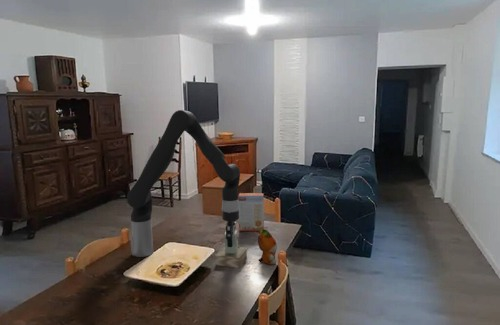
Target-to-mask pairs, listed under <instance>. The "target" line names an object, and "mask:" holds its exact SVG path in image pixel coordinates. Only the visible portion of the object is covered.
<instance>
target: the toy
mask: <svg viewBox="0 0 500 325" xmlns="http://www.w3.org/2000/svg"><path fill="white" fill-rule="evenodd" d="M257 245H258V249H259V250H260V251H262V254H261V257H260V258H259V259H258V262H259V263H263V264H266V265H275V264H277V260H276V252H277V249H278V244H277V241H276V239H275V237H274V236H273V235H272V234H271V233H270V232H269V230H268V229H265V228H264V229H263V230H261V231H259V235H258V237H257Z"/></svg>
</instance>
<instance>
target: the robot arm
mask: <svg viewBox="0 0 500 325" xmlns="http://www.w3.org/2000/svg"><path fill="white" fill-rule="evenodd" d="M184 132H186V133H187V134H188V135H189V136H191V137H192V138H193V140H194V141H195V143H196V144H197V146H198V148H199V150H200V152H201V154H202V155H203V156H204V157H205V159H206V160H207V161H208V162H209V163H210V164H211V165H212V168H213V169H214V171H215V173H216V175H217V177H218V178H220V180H221V181H223V182H225V183H224V186H223V187H222V191H221V194H222V196H221V197H222V202H221V213H222V214H221V216H222V220H223V221H225V222H226V223H225V231H226V239H227V247H232V238H233V234H234V230H237V227H236V223H237V222H236V221H239V202H238V196H239V184H240V178H241V171H240V168H239V167H238V165H237V164H236V163H230V164H228V163H227V161H226V156H225V155H226V154H224V153H223V151H222V150H221V149H220V148H219V147H218V145H216V143H215V142H214V141H213V140H212V139H211V138H210V137H209V135H208V134H207V133H206V131H205V130H204V128H203V127H202V126H201V124H200V122H199V121H198V119H197V117H196V116H195V115H194V114H193V112H191V111H188V110H184V109H180V110H179V109H178V110H175V112H174V113H173V114H172V115H171V116H170V119H169V121H168V123H167V126H166V128H165V130H164V133H162V134H163V135H162V136H161V138H160V139H159V141H158V142H157V144H156V146H155V148H154V149H153V151H152V153H151V155H150V156H149V158H148V160H147V162H146V164H144V165H145V166H144V168H143V169H142V171H141V174H140V176H139V177H138V179H137V181H136V182H135V183H134V185H133V186H132V188H131V189H130V190H129V191H128V193H127V195H126V200H127V203H128V206H129V207H131V208H132V211H131V214H130V220H131V222H130V223H131V224H130V225H131V235H130V248H131V249H130V250H131V255H132V256H133V257H136V258H143V257H149V256H151V255H152V254H154V243H153V242H154V240H153V226H152V213H153V198H152V192H151V190H152V188H153V187H154V185H155V184H156V183H157V182H158V180H160V178H161V177H162V176H163V175H164V174H165V172H167V169H168V168H169V165H171V163H172V160H173V158H174V155H175V151H176V146H177V144H178V142H179V140H180V138H181V136H182V135H183V133H184ZM228 234H230V236H228Z"/></svg>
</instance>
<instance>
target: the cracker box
mask: <svg viewBox="0 0 500 325" xmlns="http://www.w3.org/2000/svg"><path fill="white" fill-rule="evenodd" d="M264 196H265V194H264V193H262V192H261V193H259V192H256V193H255V192H248V193H247V192H245V193H244V192H238V202H239V219H238V231H239V232H260V231H261V230H263V229H264V230H265V206H264V205H265V199H264V198H265V197H264Z"/></svg>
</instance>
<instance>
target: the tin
mask: <svg viewBox="0 0 500 325" xmlns="http://www.w3.org/2000/svg"><path fill="white" fill-rule="evenodd" d="M228 236H230V234H228ZM224 245H225V253H236V252H237V247H238V230H237V229H235V230H234V234H233V238H232V247H227V239H226V230H225V231H224Z"/></svg>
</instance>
